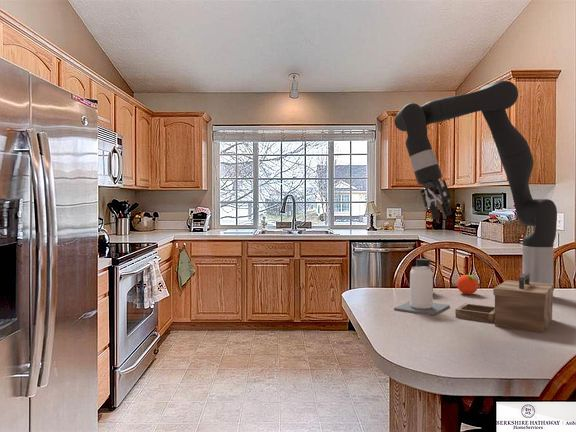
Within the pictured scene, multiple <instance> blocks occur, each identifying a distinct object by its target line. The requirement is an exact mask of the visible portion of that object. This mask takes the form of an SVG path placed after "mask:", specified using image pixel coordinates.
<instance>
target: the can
mask: <svg viewBox="0 0 576 432" xmlns="http://www.w3.org/2000/svg"><path fill="white" fill-rule="evenodd" d="M431 268H432V267H431V266H430V267H426V266H417V265H415V266H411V270H410V272H409V273H410V274H409V301H410V306H411V307H412V308H415V309H431V307H432V305H433V303H434V301H433V300H434V299H433V297H434V295H433V292H434V272H433V273H432V271H431Z"/></svg>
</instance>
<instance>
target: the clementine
mask: <svg viewBox="0 0 576 432" xmlns="http://www.w3.org/2000/svg"><path fill="white" fill-rule="evenodd" d="M456 283H457V284H456V286H457V289H458V291H459V292H461V294H463V295H472V294H474V293H476V292H477V290H478V289H479V282H478V279H476V277H475V276H473V275H471V274H468V273H467V274H463V275H461V276H460V277H459V278H458V280H457V282H456Z"/></svg>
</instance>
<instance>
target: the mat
mask: <svg viewBox="0 0 576 432" xmlns="http://www.w3.org/2000/svg"><path fill="white" fill-rule="evenodd" d="M450 307H451V305H450V304H444V303H436V302H433V305H432V307H431V309H415V308H412V307H411V306H410V300H409V301H407V302H404V303H402V304H399V305H398V306H396V307H394V308H393V311H397V312H398V311H399V312H404V313H405V312H406V313H411V314H412V313H413V314H418V315H419V314H420V315H426V316H432V317H434V316H437V315H438V314H440V313H442V312H443V311H445V310H448V308H450Z"/></svg>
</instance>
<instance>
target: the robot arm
mask: <svg viewBox="0 0 576 432" xmlns="http://www.w3.org/2000/svg"><path fill="white" fill-rule="evenodd" d="M518 97H519V90H518V88H517V86H516V84H514V83H513V82H511V81H509V80H499V81H496V82H491V83H489V84H485V85H483V86H482V87H481V88H480V89H479V90H476V91H473V92H468V93H463V94H457V95H451V96H447V97H446V96H445V97H442V98H439V99H433V100H430V101H427V102H426V103H424V104H423V105H421V106H420V105H419V104H417V103H414V102H409V103H407V104H406V105H404V106H403V107H402V109H400V110H399V111H398V112H397V113H396V115H395V116H394V120H393V121H394V127H396V128H397V129H398V130H399V131H400V132H406V135H407V137H406V140H405V146H406V150H407V153H408V155H409V156H408V157H409V159H410V164H411V167H412V170H413V173H414V176H415V179H416V182H417V185H419V186H422V185H423V188H422V189H420V190H419V191H420V194H421V198H422V201H423V204H424V207H425V208H427V209H429V211H430V213H431V217H432V219H433V220H437V219H439V218H441V215H440V212H439V209H438V206H437V201H438V203H439V204H440V207H441V209H442V213H443V215H444V217H447V216H450V215H452V214H453V211H452V208H451V206H450V203H449V202H450V200H451V199H452V196H451V194H450V190H449V187H448V185H447V182H446V180H445V179H442V177H443V174H442V171H441V168H440V166H439V163H438V160H437V157H436V154H435V152H434V150H433V148H432V144H431V141H430V140H429V139H430V138H429V137H428V127H427V126H428V125H430V124H436V123H441V122H445V121H449V120H452V119H455V118H459V117H463V116H466V115H470V114H473V113H476V112H481V113H482V115H483V118H484V120H485V122H486V123H487V126H488V128H489V131H490V133H491V136H492V139H493V142H494V144H495V146H496V150H497V153H498V156H499V157H498V158H499V159H500V162H501V165H502V167H503V170H504V172H505V176H506V178H507V182H508V185H509V188H510V191H511V195H512V199H513V204H514V209H515V214H516V216H517V218H518V221H519V222H520V223H521V224H522V225H524V226H527V227H534V230H533V231H534V232H532V233H531V234H530V235H527V236H524V237H523V239H522V271H521V272H522V274H524V273H530V277H529V282H534V283H545V284H554V246H555V245H554V244H555V243H554V242H555V239H556V238H557V226H558V225H557V222H558V221H557V220H558V209H557V206H556V204H555V202H554V201H553V200H551V199H548V198H544V199H543V198H540V199H538V198H534V199H533V196H532V193H531V190H530V185H529V184H530V183H529V182H530V177H531V175H532V171H533V168H534V157H533V154H532V151H531V149H530V146H529V143H528V141H527V140H526V138H525V137H524V136H523V135H522V134H521V132H520V131H519V130H518V129H517V128H516V127H515V126H514V125H513V123H512V122H511V120H510V119H509V115H508V113H507V110H508V109H509V108H511V107H512V106H514V104H515V103H516V102H517V100H518ZM440 179H442V180H440ZM522 274H521V275H522ZM524 282H525V281H524ZM552 299H554V291H553V292H552Z"/></svg>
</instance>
